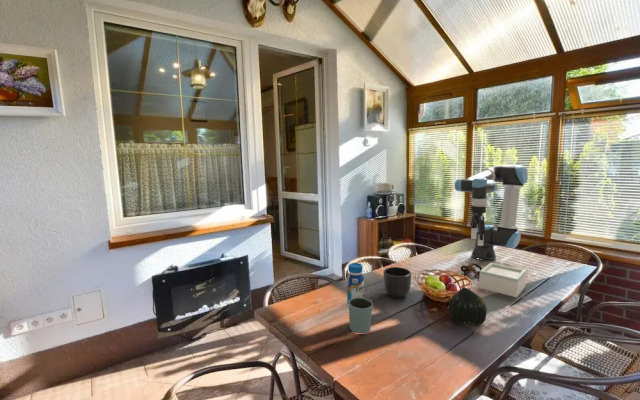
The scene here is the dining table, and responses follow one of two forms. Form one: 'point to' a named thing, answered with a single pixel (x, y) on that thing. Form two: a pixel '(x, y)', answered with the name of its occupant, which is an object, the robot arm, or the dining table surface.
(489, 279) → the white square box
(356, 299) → the green tumbler cup
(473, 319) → the squash
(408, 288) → the planter
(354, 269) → the beverage bottle
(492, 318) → the dining table surface
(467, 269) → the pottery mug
